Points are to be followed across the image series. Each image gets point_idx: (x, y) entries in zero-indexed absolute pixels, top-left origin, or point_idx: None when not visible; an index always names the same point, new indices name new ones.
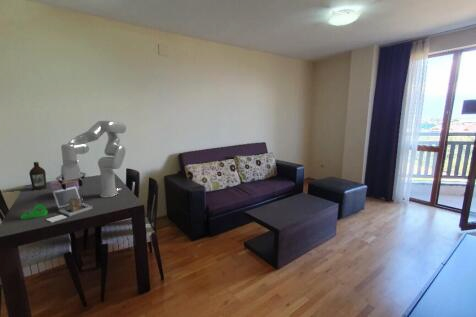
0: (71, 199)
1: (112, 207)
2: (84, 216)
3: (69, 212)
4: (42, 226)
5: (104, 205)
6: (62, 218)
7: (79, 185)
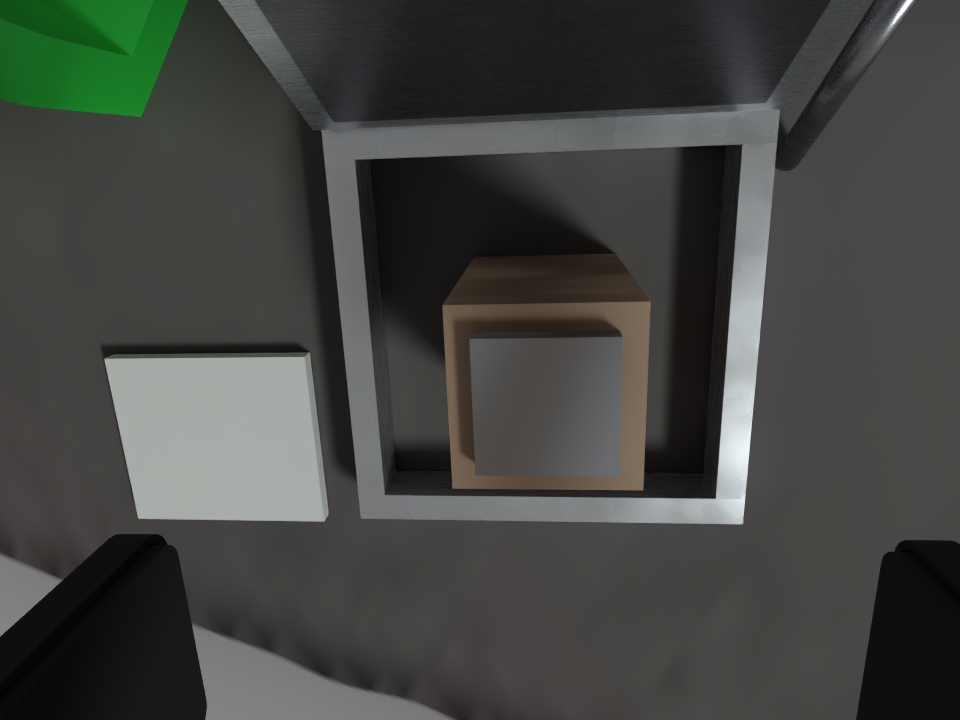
0: (473, 399)
1: None
2: (492, 668)
3: (376, 488)
4: (46, 538)
5: (947, 512)
6: (271, 518)
7: (887, 635)
